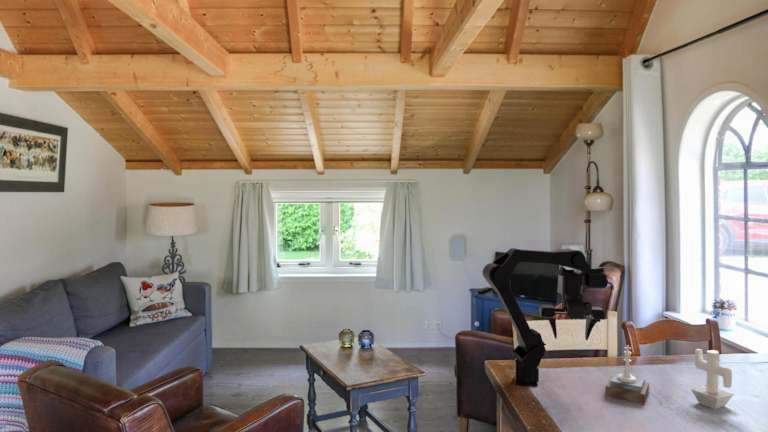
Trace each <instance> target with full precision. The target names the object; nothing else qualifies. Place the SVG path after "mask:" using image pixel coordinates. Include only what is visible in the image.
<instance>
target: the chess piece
mask: <svg viewBox="0 0 768 432" xmlns="http://www.w3.org/2000/svg"><path fill="white" fill-rule="evenodd" d="M623 348H624V351H623V355H624V357H625V358H623V360H622V361H624V362H625V363H624V369H623V372H622V373H619V374H620V375H618V379H619V380H620V381H623V382H628V383H634V382H636V377H637V376H635V377H634V375H632V373H631V367H630V366H631V365H630V363H631V362H632V359H631V355H632V351H630V350H632V347H630V345H628V344H627V345H626V347H625V346H624V347H623Z"/></svg>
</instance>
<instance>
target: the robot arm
mask: <svg viewBox="0 0 768 432" xmlns="http://www.w3.org/2000/svg"><path fill="white" fill-rule="evenodd" d="M520 263H532V264H533V263H534V264H535V263H536V264H554V265H558V266H560V268H559V269H558V270H557V271H555V275H557V276H561V278H562V279H561V282H562V283H561V307H560V308H559V307H554V305H553V304H540V305H539V306H538V307H539V308H538V313H539V315H540V316H541V317H542V318H545V320H548V322H549V325H550V327H551V331H552V334H553V336H554V339H555V340H556V339H557V335H558V333H557V324H556V321H557V320H556V317H555V316H556V315H567V317H568V318H569V319H580V320H582V319H583V320H584V319H585V329H584V330H585V331H584V332H585V333H584V335H585V336H584V338H585V340H586V341H588V339H589V338H590V335H591V332H592V331H593V328H594V327H595V325H596V324H597V323H601V322H602V321H601V320H606V311H605V310H604V309H603V308H602V307H600V306H593V304H592V302H591V301H584V300H583V294H582V290H583V289H582V288H584V289H585V290H605V289H607V287H608V283H609V279H608V277H607V274H606V272H605V268H604V267H600V266H596V267H591V265H590V264H589V263H588V262H587V260H586V256H585V254H584V253H583V252H582V251H581V250H577V249H572V248H561V249H555V250H537V249H521V248H520V249H518V248H515V247H513V248H512V247H511V248H509V249H508V250H507V251H506V252H504V253H503V254H502V255H500V256H499V257H497V258H495V260H493V261H492V262H490V263H487V264H485V265H484V267H483V269H482V276H483V278H484V279H485V281H486V282H487V283H488V285H489V286H490V287H491V288H492V289H493V290H494V292H495V293H496V294H497V296H498V297H499V301H500V302H501V304H502V307H503V308H504V310H505V312H506V314H507V316H508V317H509V320H510V322H511V324H512V326H513V328H514V329H515V333H516V340H517V344H518V345H517V346H516V347H515V348H514V349H513V350H512V351H511V354H512V357H513V359H515V360H514V376H513V379H514V383H515V385H518V386H519V385H520V386H530V387H531V386H535V387H537V386H538V385H539V384H538V383H539V379H540V377H539V376H540V373H539V372H540V370H539V369H540V368H539V366H540V363H541V360H542V358H543V357H544V356H545V353H546V351H547V350H546V347H545V346H546V345H547V344H546V343H545V342H544V341H543V340H544V339H543V338H542V335H541V333H540V332H539V331H537V330H535V329H534V328H531V327H530V325H529V323H528V321H527V319H526V317H525V315H524V313H523V312H522V310H521V307H520V306H519V304H518V303H519V302H517V299H516V298H515V294H514V293H513V291H512V289H511V280H510V277H509V275H510V274H511V273H513V272H514V271H515V269H516V267H517V266H518V265H519V264H520ZM566 268H570V269H566ZM577 271H579V272H577Z"/></svg>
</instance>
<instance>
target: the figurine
mask: <svg viewBox="0 0 768 432" xmlns="http://www.w3.org/2000/svg"><path fill="white" fill-rule="evenodd" d="M720 362H721V359H720V352H719V351H718V350H717V349H716V350H715V349H711V350H707V351H706V360H705V359H704V351H703V349H701V348H696V349H695V350H694V366H695V367H696V369H698V370H701V371H704V372H705V373H706V384H705V385H702V386H701V385H700V386H697V387H693V388H690V390H691V392H692V393H693V395H694V397H695V399H696V401H697V403H699V404H701V405H703V406H706V407H709V408H711V409H714V410H717V409H720V408H723V407H726V405H727V404H728V403H729V401H730V400H731V399H732V397H733V396H734V394H735V393H732V392H729V391H726V390H723V389H720V388H719V376H720V377H722V383H723V384H722V386H723V387H724V388H727V389H731V388H732V385H733V384H732V383H733V382H732V381H733V374H732V373H733V372H732V369H731V368H729V366H724V365H720Z"/></svg>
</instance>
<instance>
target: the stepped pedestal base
mask: <svg viewBox="0 0 768 432" xmlns="http://www.w3.org/2000/svg"><path fill="white" fill-rule="evenodd" d="M620 374H621V373H617V372H614V374H613V375H611V376H610V379H609V380H608V381H607V383H606V384H605V395H604V397H605V398H610V399H611V398H612V399H615V400H620V401H625V402H630V403H633V404H638V405H644V406H645V404H646V401H647V400H648V397H649V393H650V383H649V382H646V378H645V377H639V376H634V375H633V376H634V377H636V382H634V383H628V382H623V381H620V380H619V379H618V375H620Z"/></svg>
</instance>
